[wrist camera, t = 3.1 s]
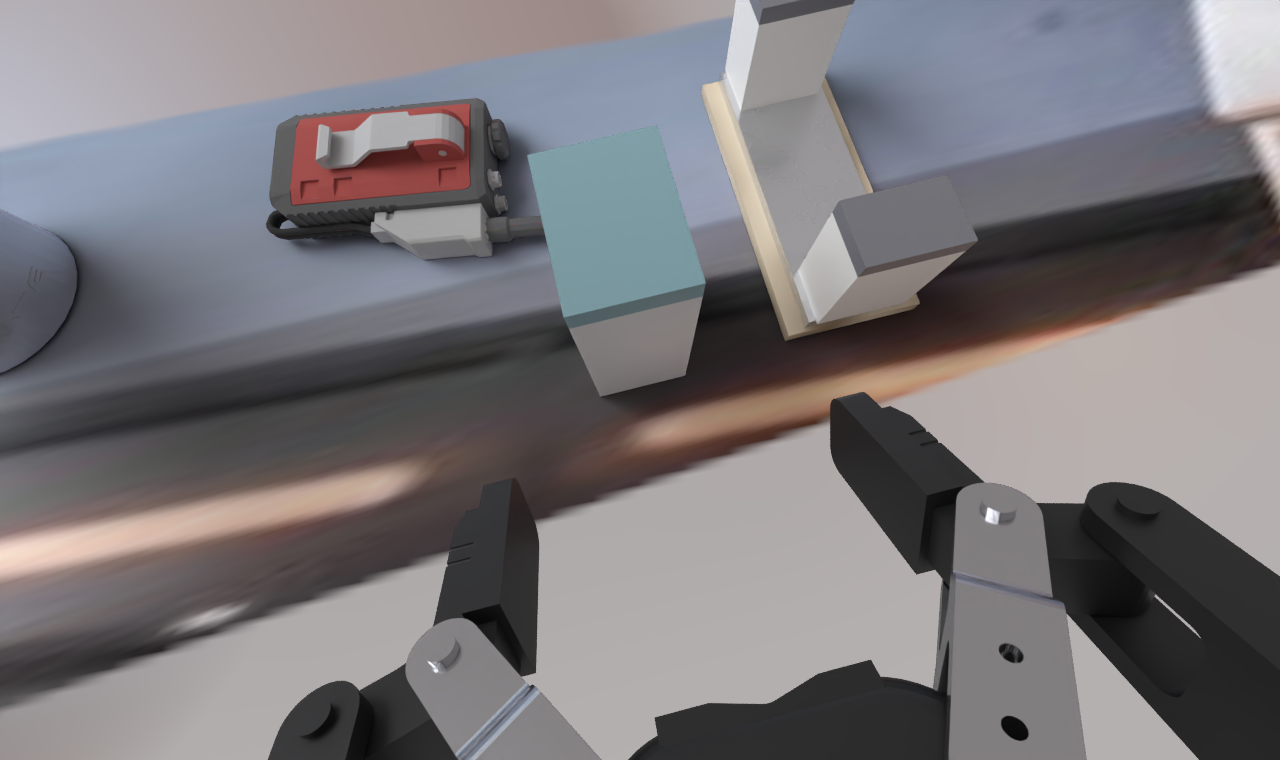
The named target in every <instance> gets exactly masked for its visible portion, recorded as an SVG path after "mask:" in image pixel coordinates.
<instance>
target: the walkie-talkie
mask: <svg viewBox="0 0 1280 760" xmlns="http://www.w3.org/2000/svg"><path fill="white" fill-rule="evenodd" d="M509 152H510V151H509V142H508V136H507V132H506V128H505V126H504V123H503V122H502V121H501V120H500V119H495V120H493V121H492V118H491V116H490V113H489V111H488V108H487V106H486V104H485V102H484V101H482V100H480V99H478V98H475V99H464V100H453V101H443V102H432V103H422V104H411V105H400V106H398V107H394V106H391V107H388V108H384V107H381V108H377V109H374V108H371V109H367V110H365V109H361V110H356V111H355V110H352V111H342V112H332V113H322V114H312V115H307V114H305V115H303V116H297V115H296V116H294V117H292V118H290V119H288V120H286V121H285V122H283V123H281V124H280V125H278V127H277V130H276V139H275V148H274V157H273V165H272V174H271V183H270V201H271V204H272V206H273V207H274V208H275V209H277V210H276V211H274V212H272V213H271V214H270V215H269V218H268V220H267V223H266V226H267V229H268V230H269V231H270V232H271V233H272V234H274V235H275V236H276V237H278V238H282V239H287V240H293V239H304V238H312V239H314V238H315V237H320V238H324V237H325V236H329V237H333V236H336V235H339V236H343V235H347V234H348V235H349V236H350V235H352V234H358V235H361V234H364V235H366V236H369V237H376V238H377V239H378V240H379V241H380V242H381V243H388V242H394V243H396V244H398V245H399V246H401V247H403V248H404V249H406V250H408V251H409V252H411V253H413V254H414V255H416V256H418V257H419V258H421V259H423V260H427V259H438V258H449V257H460V256H471V255H476V256H478V257H487V256H492V243H496V242H507V241H512V239H513V238H519V237H530V236H542V235H545V232H544V228H543V223H542V219H541V216H533V217H522V218H511V219H510V218H509V217H507V216H505V217H498V215H499V214H501V211H507V210H508V204H507V200H506V198H504V197H505V196H498V187H502V180H501V176H500V174H498V173H499V171H498V164H497V157H498V158H499V159H500V160H507V159H508V157H509ZM287 220H290V221H291V222H293V223H294V224H295V225H296V226H298V227H299V228H290V229H280V226H281V224H282V223H283V222H284V221H287Z"/></svg>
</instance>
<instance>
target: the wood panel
mask: <svg viewBox="0 0 1280 760" xmlns="http://www.w3.org/2000/svg"><path fill="white" fill-rule="evenodd" d="M821 86H822V88H823V91H824V93H825V95H826V98H827V100H828V103H829V105H830V107H831V110H832V112H833V115H834V117H835V119H836V122H837V124H838V127H839V129H840V131H841V134H842V136H843V139H844V141H845V143H846V146H847V148H848V151H849V153H850V155H851V158H852V160H853V163H854V165H855V168H856V170H857V172H858V175H859V177H860V180H861V182H862V184H863V187H864V189H865V192H866V194H869V193H873V190H872V187H871V185H870V183H869V180H868V178H867V175H866V173H865V171H864V168H863V166H862V163H861V161H860V159H859V156H858V154H857V152H856V149H855V147H854V144H853V142H852V140H851V137H850V135H849V133H848V130H847V128H846V125H845V123H844V121H843V118H842V116H841V114H840V111H839V109H838V106H837V104H836V102H835V99H834V97H833V94H832V92H831V90H830V87H829V85H828V83H827V80H826V78H825V77H824V80H823V82H822V85H821ZM702 98H703V101H704V104H705V107H706V110H707V113H708V116H709V119H710V122H711V125H712V128H713V131H714V134H715V137H716V140H717V143H718V145H719V148H720V151H721V154H722V157H723V160H724V163H725V166H726V169H727V172H728V175H729V178H730V181H731V184H732V187H733V190H734V193H735V195H736V198H737V201H738V204H739V207H740V210H741V213H742V216H743V219H744V222H745V225H746V228H747V231H748V234H749V237H750V240H751V243H752V246H753V248H754V251H755V254H756V257H757V260H758V263H759V266H760V269H761V272H762V275H763V278H764V281H765V284H766V287H767V290H768V293H769V296H770V298H771V301H772V304H773V307H774V310H775V313H776V316H777V319H778V322H779V325H780V328H781V331H782V334H783V337H784V340H785V341H787V340H791V339H795V338H799V337H803V336H807V335H811V334H815V333H819V332H823V331H827V330H831V329H835V328H839V327H843V326H847V325H851V324H855V323H859V322H863V321H867V320H871V319H875V318H880V317H884V316H888V315H892V314H896V313H900V312H904V311H908V310H912V309H914V308H915V307H916V306H917V305H919V304H920V301H919V299H918V297H917V294H916V293H915V294H914V295H913V296H912V297H911V298H909V299H908V300H907V301H906V302H905V303H903V304H900V305H896V306H892V307H887V308H883V309H879V310H875V311H871V312H867V313H863V314H859V315H855V316H851V317H847V318H843V319H839V320H835V321H831V322H827V323H823V324H819V325H815V326H811V327H807V328H804V325H803V322H802V319H801V316H800V314H799V311H798V308H797V305H796V302H795V299H794V297H793V294H792V291H791V288H790V285H789V282H788V280H787V277H786V274H785V271H784V268H783V265H782V263H781V260H780V257H779V254H778V251H777V248H776V246H775V243H774V240H773V237H772V234H771V231H770V229H769V226H768V223H767V220H766V217H765V214H764V212H763V209H762V206H761V203H760V200H759V197H758V195H757V192H756V189H755V186H754V183H753V180H752V178H751V175H750V172H749V169H748V166H747V163H746V161H745V158H744V155H743V152H742V149H741V146H740V143H739V141H738V138H737V135H736V132H735V129H734V126H733V124H732V121H731V118H730V115H729V112H728V109H727V107H726V104H725V101H724V98H723V95H722V92H721V90H720V87H719V82H715V83H710V84H706V85H703V88H702Z"/></svg>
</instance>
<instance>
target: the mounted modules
mask: <svg viewBox="0 0 1280 760" xmlns="http://www.w3.org/2000/svg"><path fill="white" fill-rule="evenodd" d="M853 3H854V0H736V5H735V12H734V17H733V24H732V30H731V36H730V43H729V49H728V55H727V62H726V68H725V70H726V72H727V75H728V78H729V81H730V83H731V86H732V89H733V92H734V95H735V97H736V100H737V103H738V106H739V108H740V111H744V110H749V109H753V108H757V107H762V106H766V105H770V104H775V103H779V102H783V101H788V100H792V99H796V98H801V97H805V96H809V95H814V94H818V93H819V90H820V87H821V85H822V82H823V80H824V77H825V75H826V72H827V69H828V67H829V64H830V62H831V59H832V57H833V54H834V51H835V49H836V46H837V44H838V41H839V39H840V36H841V33H842V31H843V28H844V26H845V23H846V21H847V18H848V16H849V13H850V10H851V8H852V5H853ZM977 241H978V239H977V237H976V235H975V233H974V230H973V228H972V226H971V224H970V222H969V220H968V218H967V215H966V213H965V211H964V209H963V207H962V205H961V203H960V200H959V198H958V196H957V194H956V192H955V190H954V188H953V185H952V183H951V181H950V179H949V177H948V175H944V176H940V177H936V178H932V179H928V180H923V181H919V182H915V183H911V184H907V185H902V186H898V187H894V188H890V189H886V190H882V191H877V192H873V193H869V194H865V195H861V196H856V197H852V198H848V199H844V200H840V201H839V202H838V203H837V205H836V207H835V208H834V210H833V212H832V213H831V215H830V217H829V218H828V220H827V222H826V224H825V225H824V227H823V229H822V230H821V232H820V234H819V235H818V237H817V239H816V241H815V242H814V244H813V246H812V247H811V249H810V251H809V252H808V254H807V256H806V258H805V259H804V261H803V263H802V264H801V266H800V268H799V269H798V272H799V275H800V278H801V280H802V283H803V286H804V289H805V292H806V294H807V297H808V300H809V303H810V305H811V308H812V311H813V314H814V317H815V319H816V322H817V324H821V323H825V322H829V321H833V320H837V319H841V318H845V317H849V316H853V315H857V314H861V313H865V312H869V311H873V310H877V309H881V308H885V307H889V306H893V305H898V304H902V303H905V302H906V301H907V300H908V299H909V298H911V297H912V296H913V295H914V294H915V293H917V292H918V291H919V290H920V289H921V288H922V287H924V286H925V285H926V284H927V283H928V282H930V281H931V280H932V279H933V278H934V277H936V276H937V275H938V274H939V273H940V272H941V271H943V270H944V269H945V268H946V267H947V266H949V265H950V264H951V263H952V262H953V261H954V260H956V259H957V258H958V257H959V256H960V255H962V254H963V253H964V252H965V251H966V250H968V249H969V248H970V247H971V246H972V245H973V244H975V243H976V242H977Z"/></svg>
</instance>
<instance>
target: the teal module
mask: <svg viewBox="0 0 1280 760" xmlns="http://www.w3.org/2000/svg"><path fill="white" fill-rule="evenodd" d="M527 157H528V161H529V166H530V170H531V175H532V179H533V183H534V188H535V192H536V197H537V201H538V206H539V210H540V215H541V219H542V223H543V228H544V232H545V237H546V241H547V246H548V250H549V255H550V259H551V263H552V268H553V272H554V277H555V281H556V286H557V290H558V295H559V299H560V303H561V308H562V312H563V317H564V319H565V322H566V324H567V326H568V328H569V330H570V332H571V334H572V337H573V339H574V341H575V343H576V345H577V347H578V349H579V352H580V354H581V356H582V358H583V360H584V362H585V364H586V367H587V369H588V371H589V373H590V375H591V377H592V380H593V382H594V384H595V386H596V388H597V390H598V392H599V395H600V397H601V396H605V395H609V394H613V393H617V392H621V391H625V390H629V389H633V388H637V387H641V386H645V385H649V384H653V383H658V382H662V381H666V380H670V379H674V378H678V377H682V376H685V375H686V370H687V366H688V361H689V357H690V352H691V348H692V343H693V338H694V334H695V329H696V325H697V320H698V316H699V311H700V307H701V302H702V298H703V293H704V289H705V284H706V282H705V279H704V276H703V272H702V269H701V266H700V263H699V259H698V256H697V253H696V250H695V246H694V243H693V240H692V237H691V233H690V230H689V227H688V224H687V220H686V217H685V214H684V211H683V207H682V204H681V201H680V198H679V194H678V191H677V188H676V185H675V181H674V178H673V175H672V172H671V168H670V165H669V162H668V159H667V155H666V152H665V149H664V145H663V142H662V139H661V136H660V132H659V129H658V126H657V125H656V126H651V127H647V128H643V129H638V130H634V131H630V132H625V133H621V134H617V135H612V136H608V137H604V138H599V139H595V140H591V141H586V142H582V143H578V144H573V145H569V146H565V147H560V148H556V149H552V150H547V151H543V152H539V153H534V154H530V155H527Z"/></svg>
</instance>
